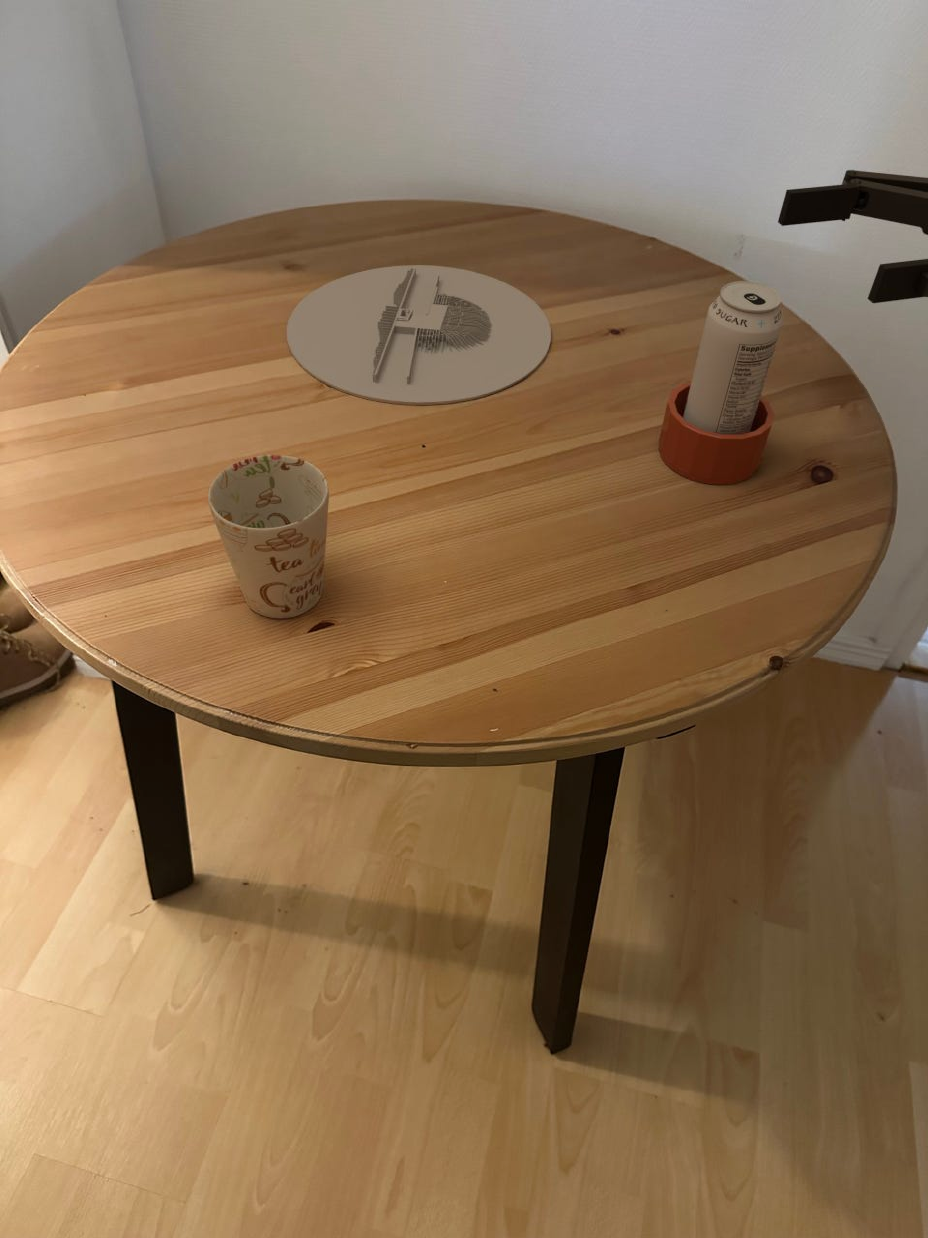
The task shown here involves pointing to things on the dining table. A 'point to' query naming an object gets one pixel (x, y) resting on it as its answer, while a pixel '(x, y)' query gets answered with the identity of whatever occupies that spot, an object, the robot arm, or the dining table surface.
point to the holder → (711, 444)
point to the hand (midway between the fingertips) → (827, 243)
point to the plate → (418, 335)
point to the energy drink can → (734, 358)
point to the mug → (273, 531)
